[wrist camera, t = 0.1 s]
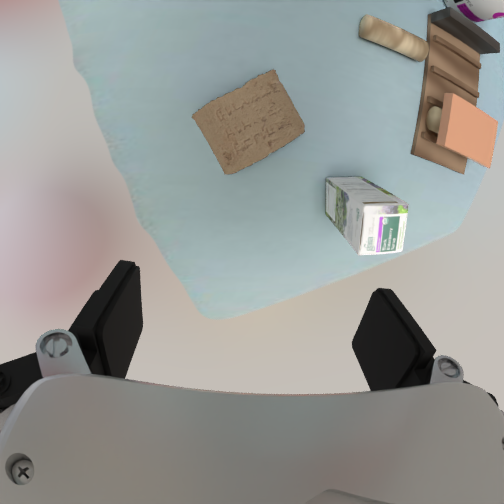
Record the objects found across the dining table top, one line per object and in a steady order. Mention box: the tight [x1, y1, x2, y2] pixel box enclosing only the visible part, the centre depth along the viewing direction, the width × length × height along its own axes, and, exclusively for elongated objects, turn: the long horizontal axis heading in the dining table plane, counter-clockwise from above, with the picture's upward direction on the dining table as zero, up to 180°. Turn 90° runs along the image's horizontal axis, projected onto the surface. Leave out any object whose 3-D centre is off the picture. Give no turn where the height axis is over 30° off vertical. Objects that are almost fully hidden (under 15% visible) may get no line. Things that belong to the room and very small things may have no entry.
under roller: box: [426, 106, 442, 133], centre depth 34 cm, size 4×10×4 cm, turn 81°
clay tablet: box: [192, 70, 305, 174], centre depth 36 cm, size 14×10×3 cm
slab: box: [436, 93, 498, 168], centre depth 31 cm, size 8×11×2 cm
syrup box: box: [326, 177, 409, 255], centre depth 35 cm, size 6×6×14 cm
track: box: [411, 7, 500, 174], centre depth 31 cm, size 26×12×6 cm, turn 171°
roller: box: [359, 14, 429, 62], centre depth 29 cm, size 4×10×4 cm, turn 81°
